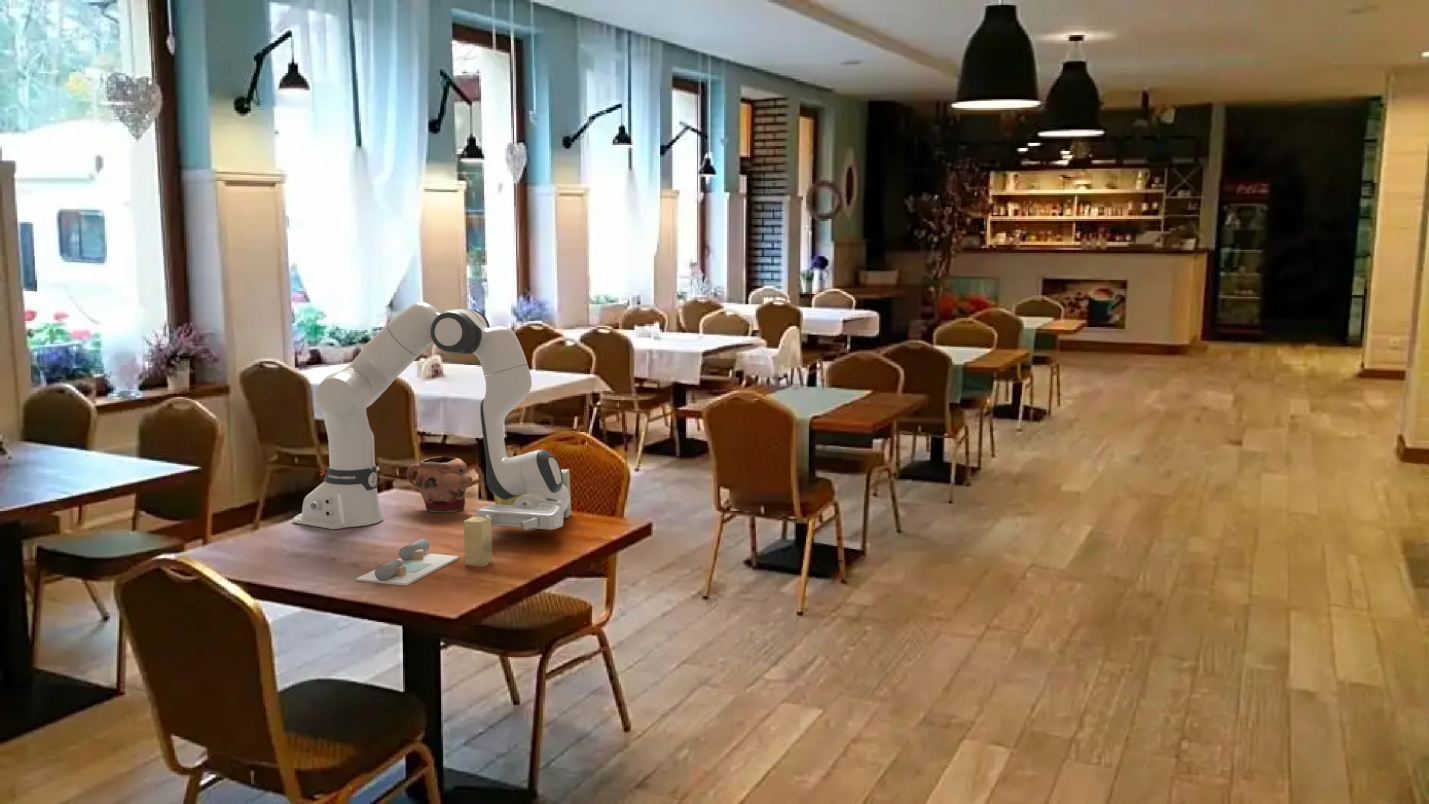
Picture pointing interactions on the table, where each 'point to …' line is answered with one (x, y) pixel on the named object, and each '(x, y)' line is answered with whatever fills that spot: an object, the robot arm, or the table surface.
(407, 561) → the white flat board
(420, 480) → the pink clay mug
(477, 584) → the table surface
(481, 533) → the block
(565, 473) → the skincare box
